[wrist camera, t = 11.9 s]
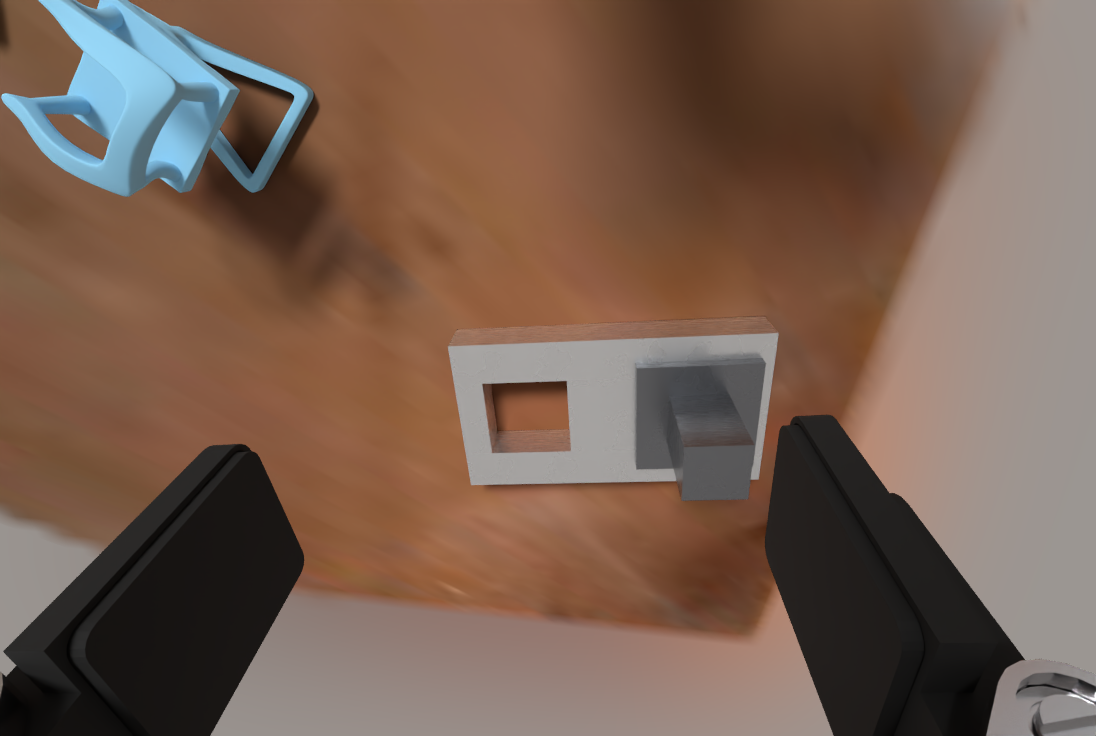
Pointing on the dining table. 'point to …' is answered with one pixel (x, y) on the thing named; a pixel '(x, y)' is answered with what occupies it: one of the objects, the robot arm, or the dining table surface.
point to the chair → (150, 101)
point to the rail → (586, 392)
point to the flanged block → (700, 423)
